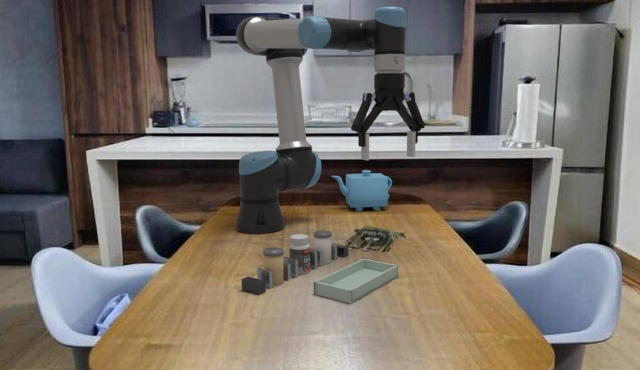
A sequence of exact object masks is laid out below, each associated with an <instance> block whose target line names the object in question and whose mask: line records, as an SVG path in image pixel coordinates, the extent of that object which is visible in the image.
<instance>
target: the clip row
mask: <svg viewBox="0 0 640 370" xmlns="http://www.w3.org/2000/svg"><path fill="white" fill-rule="evenodd" d="M348 256H349V250H348V246H346V245H345V244H343V245H341V244H338V243H332V242H331V260H334V261H336V260H337V259H338V257H340V258H345V257H348ZM283 266H284V281H290V280H292V278H298V277H299V274H298V259H293V258H290V256H283ZM321 266H324V264H323V259H322V251H320V250H316V249H314V248H311V247H310V269H312V270H313V269H314V270H316V269H318V267H321ZM273 287H274V286H273V284H272V271H270V270H266V269H264V268H261V267H260V268H257V269H256V278H255V277H252V276H246V277H244V278H241V290H242V291H245V292H249V293H252V294H255V295H258V296H260V295H262V294H265V293H266V292H267V289H271V288H273ZM266 288H267V289H266Z"/></svg>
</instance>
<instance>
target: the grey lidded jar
mask: <svg viewBox="0 0 640 370" xmlns="http://www.w3.org/2000/svg"><path fill="white" fill-rule="evenodd" d="M312 234H313V240H314V241H313V247H314V248H313V249H316V250H320V251H322V259H323V265H328V264H330V263H332V260H333V259H331V244H332V236H333V233H332V231H330V230H326V229H325V230H315V231H314V232H313V233H312Z"/></svg>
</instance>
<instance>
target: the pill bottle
mask: <svg viewBox="0 0 640 370" xmlns="http://www.w3.org/2000/svg"><path fill="white" fill-rule="evenodd" d="M310 248H311V247H310V243H309V236H308V235H307V234H301V233H299V234H292V235H290V245H289V248H288V251H289V258H293V259H298V275H303V274H307V273H309V272H310V271H311V268H310Z"/></svg>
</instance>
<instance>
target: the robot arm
mask: <svg viewBox="0 0 640 370" xmlns="http://www.w3.org/2000/svg"><path fill="white" fill-rule="evenodd" d="M406 21H407V20H406V11H405V9H404V8H402V7H399V6H382V7H381V6H380V7H378V8H376V9H375V10H374V16H373V18H371V19H364V20H359V19H348V18H336V17H335V18H334V17H324V16H321V15H307V16H305V17H303V18H288V17H285V18H283V17H269V16H259V15H256V16H249V17H246V18H244V19H243V20H242V21H241V22H240V23H239V24H238V25H237V29H236V34H235V36H236V41H237V43H238V45H239V48H241V49H242V50H243V51H244V52H246V53H248V54H250V55H253V56H261V57H263V56H264V57H265V61H266V64H267V66H268V67H270V68H271V73H272V82H273V91H274V93H273V94H274V102H275V109H276V110H275V111H276V120H277V130H278V140H279V143H278V146H277V147H276V148H275V150H262V151H261V150H259V151H254V152H249V153H247V154H244V155H242V156H241V157H240V159H239V162H238V163H239V165H238V173H239V174H238V175H239V196H240V197H239V198H240V205H239V209H238V213H237V218H236V219H235V230H236V231H237V232H241V233H245V234H269V233H275V232H279V231H282V230H283V229H285V227H286V221H285V218H284V216H283V212H282V209H281V207H280V202H279V193H281V192H287V191H288V192H289V191H295V190H304V189H307V188H311V187H314V186H315V185H316V184H317V183H318V181H319V179H320V178H321V174H322V161H321V158H320V157H319V154H318V153H317V152H315V151H313V147H312V144H310V142H308V140H307V135H306V123H305V114H304V105H303V96H302V93H303V92H302V85H301V75H300V74H301V73H300V64H302V62H303V61H304V56H305V55H306V53H307V52H308V49H310V50H339V51H347V52H352V53H354V52H355V53H359V52H360V53H361V52H364V51H373V50H374V57H373V58H374V59H373V60H374V61H373V71H374V72H375V74H374V78H373V81H374V83H373V87H374V93H371V92H364V93H363V94H362V100H361V104H360V106H359V109H358V111H357V113H356V116H355V118H354V119H353V122H352V125H351V127H350V130H351V131H353V132H356V134H357V135H358V136H357V137H358V147H360V148H361V149H360V159H361V160H364V161H370V133H367V132H368V131H369V129H370V128H371V127H372V125H373V124H374V122H375V121H376V120H377V118H378V117H379V116H380V114H381V113H383V112H389V111H391V112H392V111H393V112H395V111H396V112H397V113H398V115H399V116H400V118H401V119H402V120H403V122H404V124H406V127H408V129H409V130H407V132H406V133H407V134H406V157H410V158H415V157H416V145H417V144H418V141H419V132H420V131H421V130H422V129H424V128H425V127H426V125H425V122H424V119H423V118H422V114H421V112H420V109H419V107H418V105H417V102H416V94H415V92H413V91H412V92H411V91H410V92H408V91H407V92H404V91H405V86H406V85H405V84H406V83H405V80H406V79H405V77H406V76H405V74H404V73H403V72H404V71H405V68H406V67H405V65H406V33H407V32H406V31H407V30H406V29H407V22H406ZM373 101H374V102H375V103H374V104H373V106H372V108H371V110H370V112H369V109H370V107H371V105H372V102H373ZM403 102H405V103H406V106H407V107H406V106H405V103H403ZM408 110H409V111H408ZM368 112H369V113H368Z"/></svg>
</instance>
